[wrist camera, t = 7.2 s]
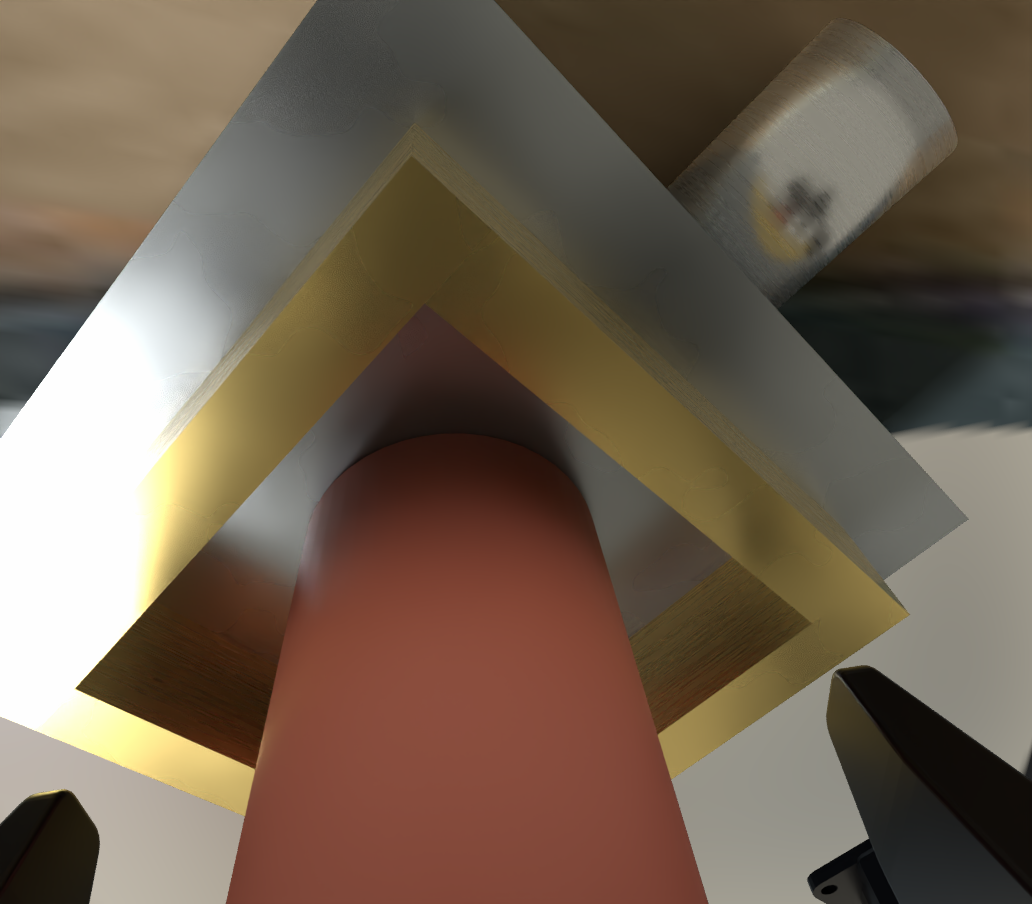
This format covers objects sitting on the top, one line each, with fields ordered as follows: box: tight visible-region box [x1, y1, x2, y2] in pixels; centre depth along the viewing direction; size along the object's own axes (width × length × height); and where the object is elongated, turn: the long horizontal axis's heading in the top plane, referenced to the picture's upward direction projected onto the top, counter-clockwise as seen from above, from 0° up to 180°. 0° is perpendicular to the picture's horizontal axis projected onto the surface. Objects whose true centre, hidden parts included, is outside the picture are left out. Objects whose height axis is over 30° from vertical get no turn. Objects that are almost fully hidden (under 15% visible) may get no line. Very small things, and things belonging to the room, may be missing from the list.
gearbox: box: [0, 0, 968, 816], centre depth 12 cm, size 12×15×5 cm
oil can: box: [226, 433, 708, 904], centre depth 9 cm, size 4×4×7 cm
